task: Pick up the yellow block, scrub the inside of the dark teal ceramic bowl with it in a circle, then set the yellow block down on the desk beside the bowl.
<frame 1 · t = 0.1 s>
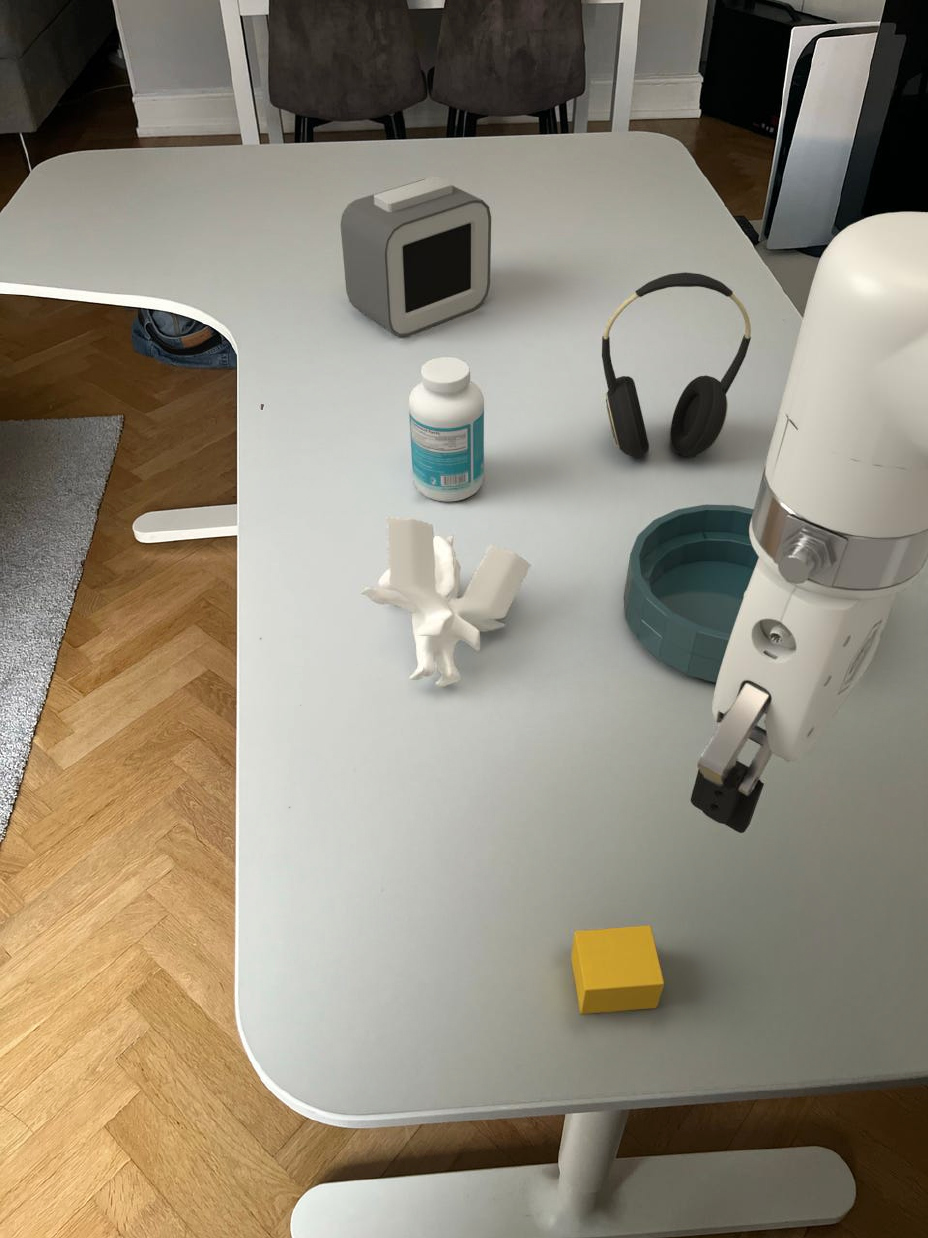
hand: (761, 758, 55), 19 cm above the table, tool pointing down, fingers open, 9 cm apart
figurine: (431, 635, 88), on the table
yellow block: (613, 982, 65), on the table
bowl: (721, 617, 90), on the table
pill bottle: (448, 484, 104), on the table
alarm clock: (415, 308, 131), on the table
headphones: (657, 451, 108), on the table
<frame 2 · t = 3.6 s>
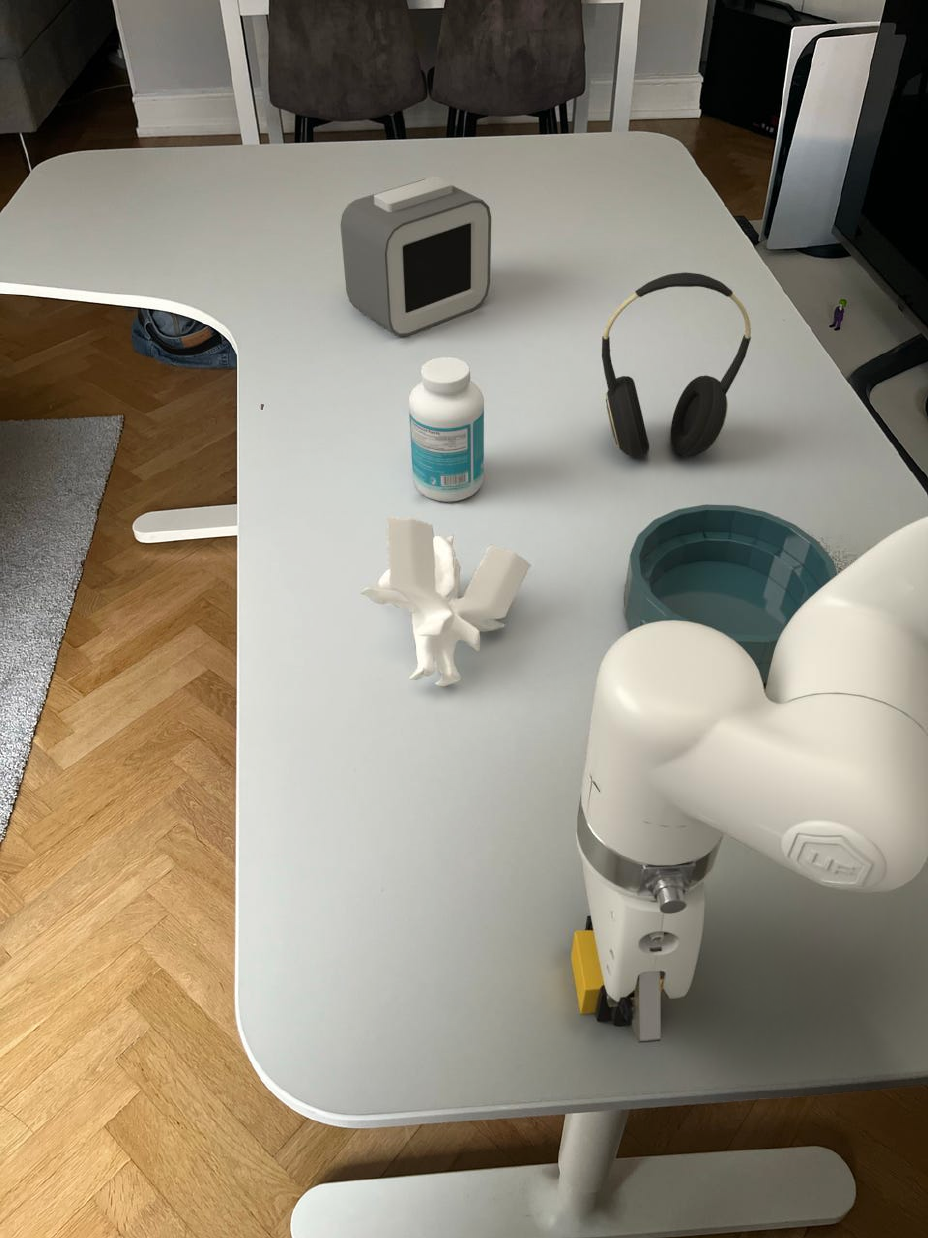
hand: (613, 979, 65), 0 cm above the table, tool pointing down, fingers closed on yellow block, 4 cm apart
yellow block: (612, 982, 65), on the table, touching gripper
everything else where it was.
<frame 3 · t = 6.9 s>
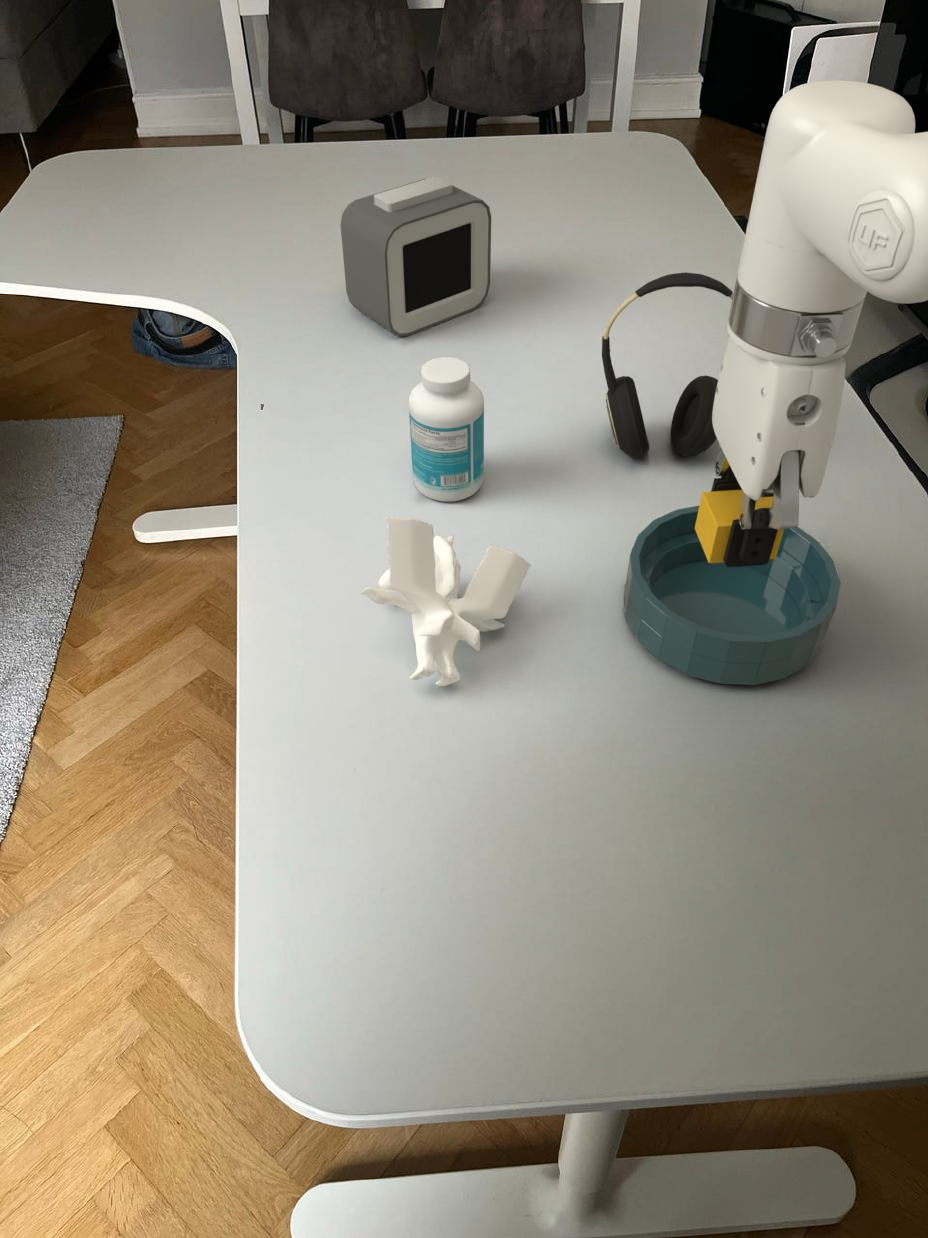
hand: (736, 540, 73), 16 cm above the table, tool pointing down, fingers closed on yellow block, 4 cm apart
yellow block: (734, 543, 73), point 15 cm above the table, touching gripper
everything else where it was.
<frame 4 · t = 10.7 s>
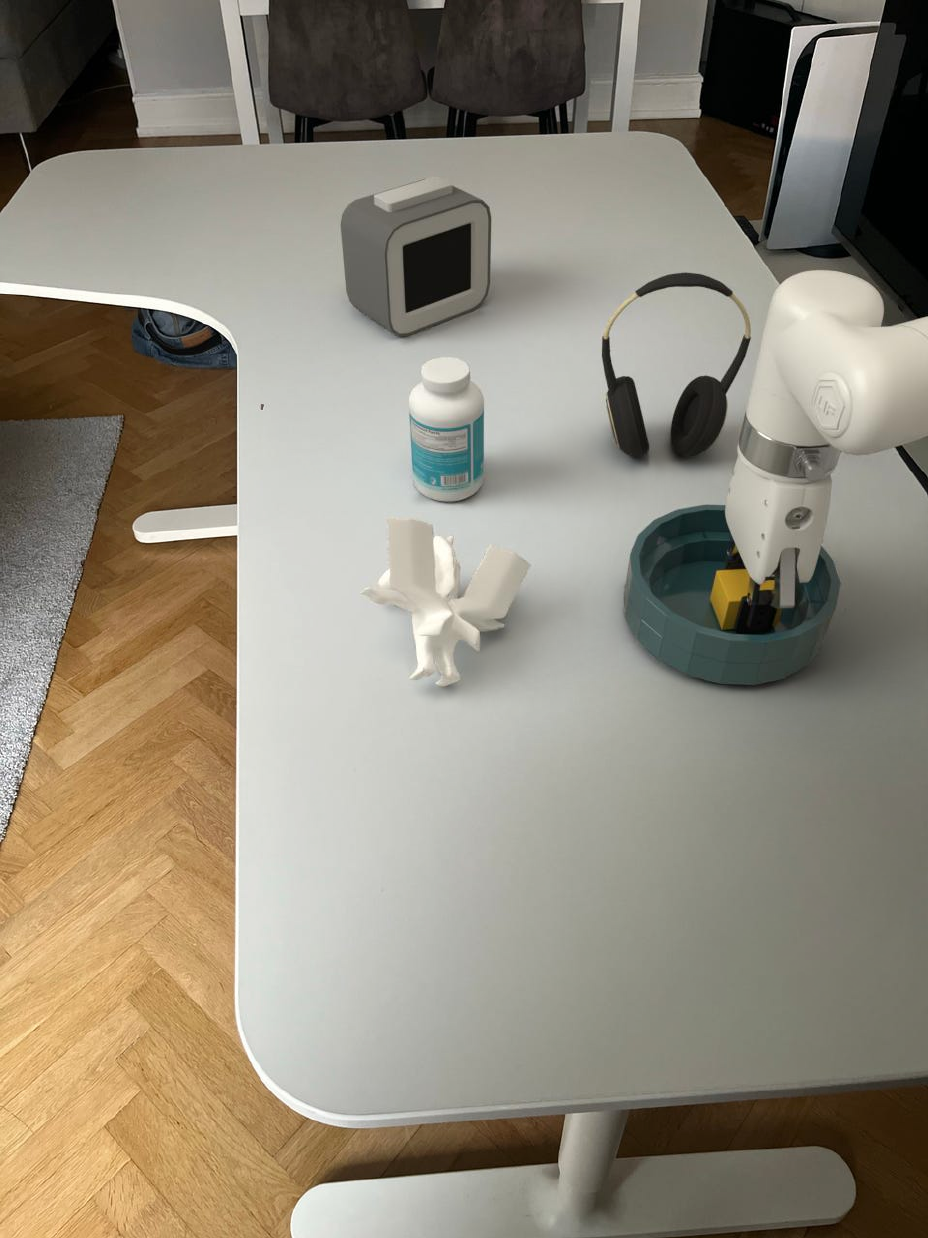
hand: (744, 610, 88), 1 cm above the table, tool pointing down, fingers closed on yellow block, 4 cm apart
yellow block: (742, 612, 89), point 1 cm above the table, touching gripper
everything else where it was.
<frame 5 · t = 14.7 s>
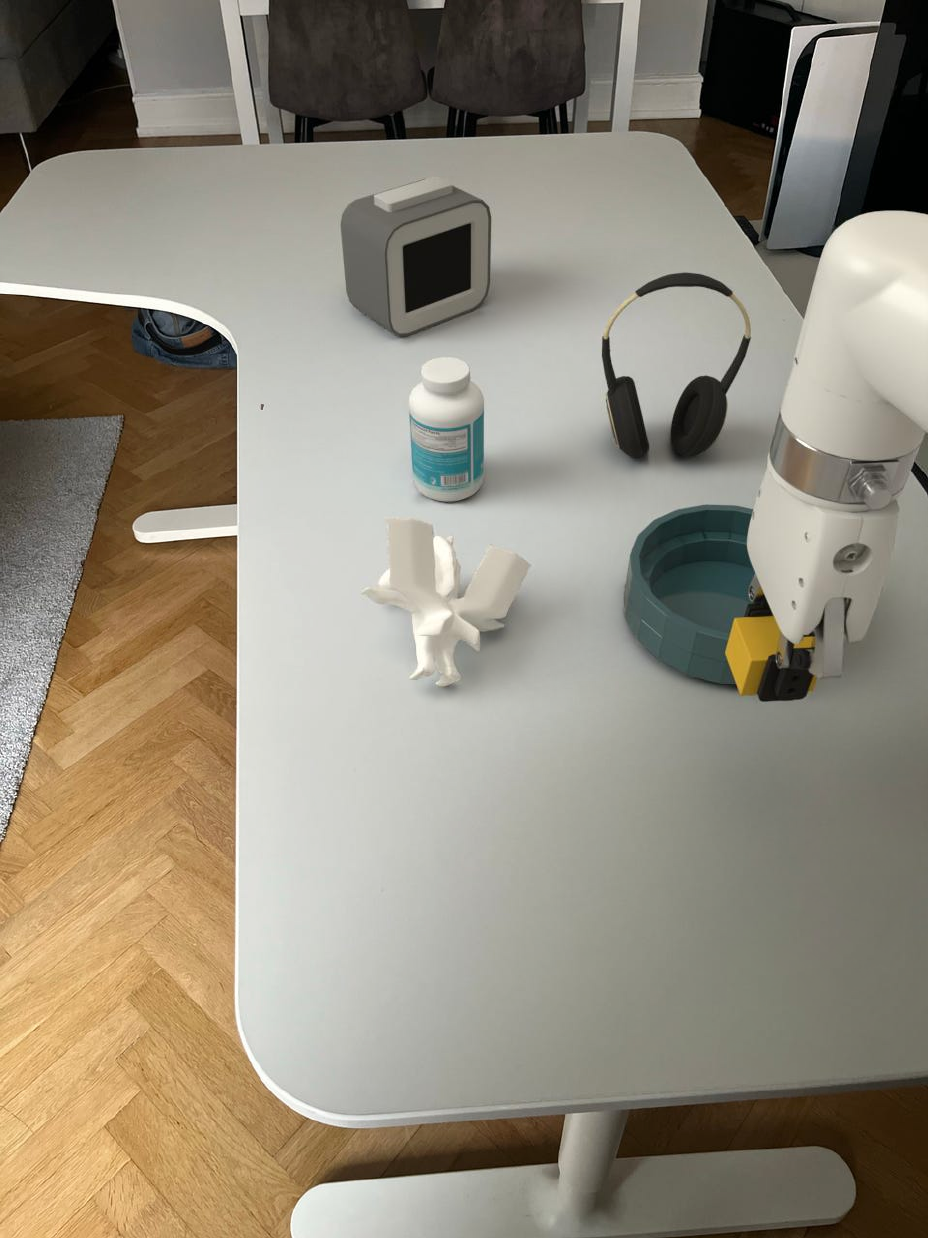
hand: (770, 669, 68), 13 cm above the table, tool pointing down, fingers closed on yellow block, 4 cm apart
yellow block: (767, 672, 68), point 12 cm above the table, touching gripper
everything else where it was.
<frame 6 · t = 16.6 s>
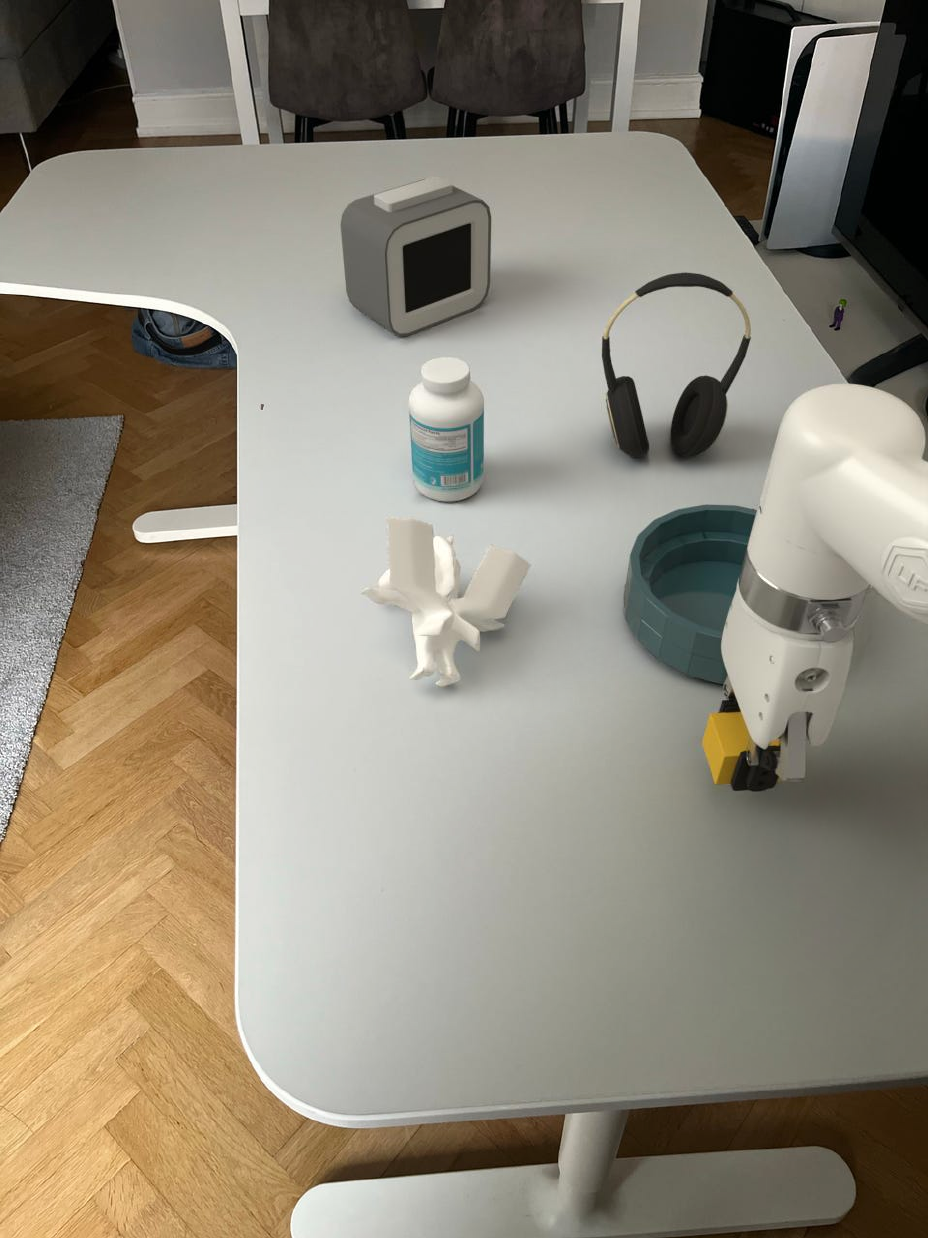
hand: (743, 759, 74), 3 cm above the table, tool pointing down, fingers closed on yellow block, 4 cm apart
yellow block: (740, 761, 74), point 3 cm above the table, touching gripper
everything else where it was.
when the fingers open (0 cm above the table, at t = 17.9 s): yellow block stays where it is, on the table.
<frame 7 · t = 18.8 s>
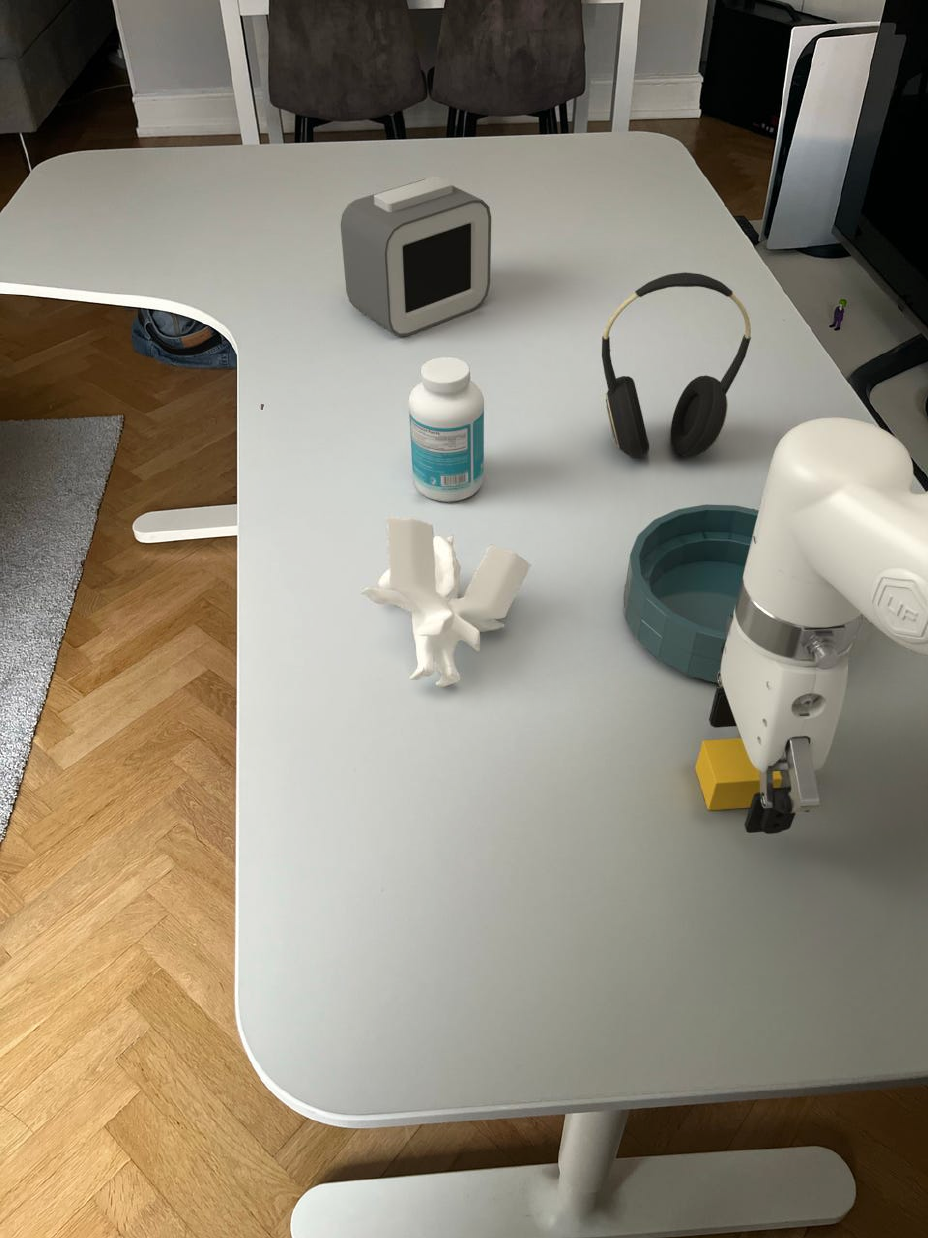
hand: (746, 773, 74), 2 cm above the table, tool pointing down, fingers open, 9 cm apart
yellow block: (733, 787, 76), on the table
everything else where it was.
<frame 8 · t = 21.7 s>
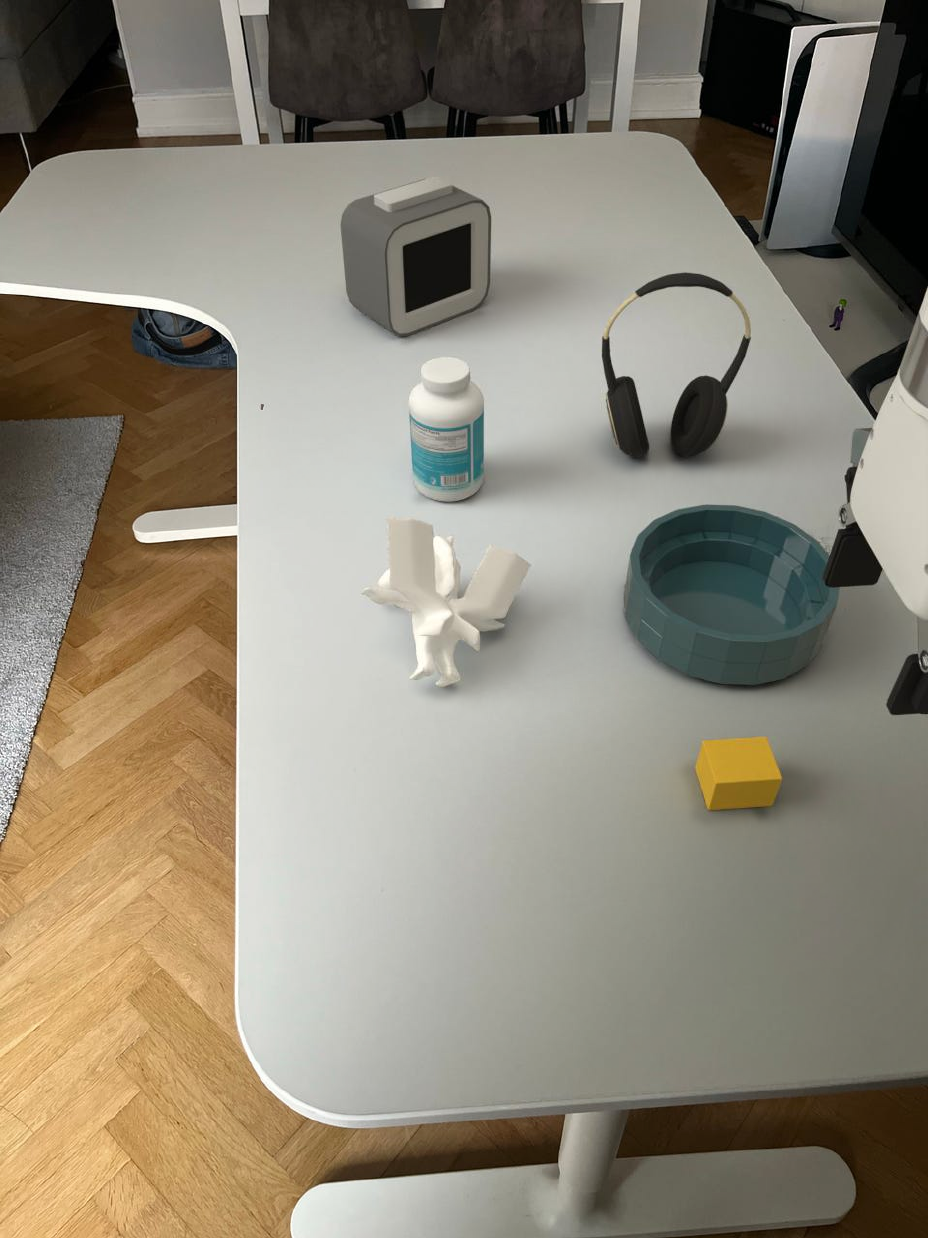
hand: (880, 642, 55), 23 cm above the table, tool pointing down, fingers open, 9 cm apart
nothing on the table moved.
at the end: yellow block inside the target area on the table beside the bowl (0.3 cm from its centre), on the table; the gripper is holding nothing; yellow block moved 19.0 cm from its start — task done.
